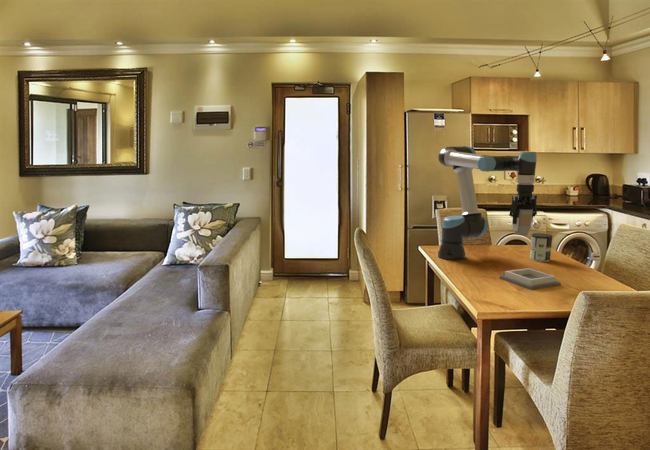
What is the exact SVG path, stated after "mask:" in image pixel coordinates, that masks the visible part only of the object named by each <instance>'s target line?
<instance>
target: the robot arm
mask: <svg viewBox="0 0 650 450" xmlns="http://www.w3.org/2000/svg"><path fill="white" fill-rule="evenodd" d="M437 157H438V159H437V160H438V162H439V164H440V165H442V166H444V167H452V170H453V172H454V173H456V179H457V186H458V192H459V196H460V197H459V198H460V204H461V211H462V212H461V214H460V215H449V216H448V215H447V216H445V217H444V218H443V220H442V224H441V227H442V230H441V231H442V232H441V244H440V247H439V250H438V251H437V257H439V258H440V259H443V260H452V261H461V260H464V259H466V251H465V248H464V247H465V246H464V239H470V238H479V237H482V236H484V235H485V234H486V232H487V230H488V226H489V225H488V224H489V223H488V221H487V219H486V218H485V217H484V216H483V215H482V212H481V211H479V208H478V207H479V206H478V201H477V195H476V190H475V189H476V188H475V183H474V177H473V169H476V170H480V171H481V172H517V179H516V181H517V184H516V192H517V194H516V195H512V196H511V206H510V210H509V216H510V217H511V218H512V223H511V224H512V231H514V232H515V231H518V225H519V218H517V217H518V215H519V212H520V209H517V205H524V204H528V205H530V204H532V205H533V207H534V209H533V212H532V219H531V224H530V228H529V231H530V230H532V229H533V227H532V226H533V221H534V217H536V216H537V214H538V212H537V211H538V210H537V209H538V208H537V206H538V205H537V200H538V199H537V198H538V196H537V195H536V194H533V193H534V191H535V185H534V184H535V178H536V167H537V153H536V151H520V152H519V155H488V154H481V153H479V154H478V153H477V152H476V151H475V149H474V148H473V147H471V146H465V145H464V146H445V147H443V148H442V149H441V150H440V151H439V153H438V156H437ZM515 214H516V215H515Z"/></svg>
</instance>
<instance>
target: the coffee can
mask: <svg viewBox="0 0 650 450" xmlns="http://www.w3.org/2000/svg"><path fill="white" fill-rule="evenodd" d="M552 240H553V235H552V234H548V233H540V232H537V233H536V232H534V233H531V239H530V253H529V260H531V261H534V262H541V263H546V262H550V261H551V254H552V253H551V252H552V242H553V241H552Z"/></svg>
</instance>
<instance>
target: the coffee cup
mask: <svg viewBox="0 0 650 450" xmlns="http://www.w3.org/2000/svg"><path fill="white" fill-rule="evenodd" d="M517 209H520V212H519V215H518V217H517V218H519V225H518V231H515V230H514V234H515V235H517V236H528V235H529V233H530V232H529V231H530V230H529V228H530V224H531V219H532V212H533V209H534V207H533V205H532V204H530V205H528V204H525V203H524V205H517ZM515 215H516V214H515Z"/></svg>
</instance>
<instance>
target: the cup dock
mask: <svg viewBox="0 0 650 450" xmlns="http://www.w3.org/2000/svg"><path fill="white" fill-rule="evenodd" d="M499 279H501V280H503V281H507V282H509V283H511V284H515V285H517V286H519V287H522V288H525V289H528V290H530V291H531V290H537V289H544V288H550V287H557V286H561V285H562V282H561V281H559V280H557V276H556V275H552V274H549V273H547V272H542V271H539V270H537V269H535V268H534V269H533V268H530V267H528V268H527V267H526V268H519V269H512V270H504V275H503V274H502V275H499ZM556 285H557V286H556Z"/></svg>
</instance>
